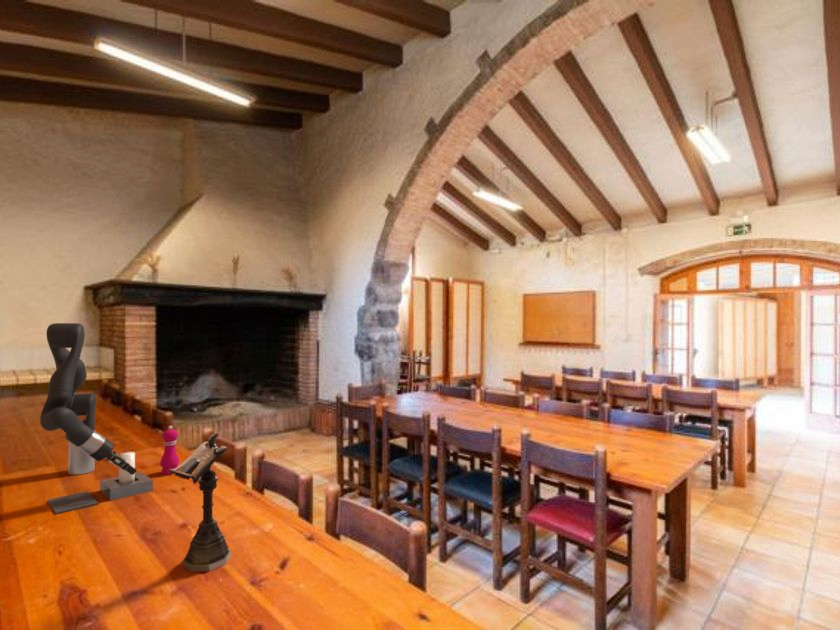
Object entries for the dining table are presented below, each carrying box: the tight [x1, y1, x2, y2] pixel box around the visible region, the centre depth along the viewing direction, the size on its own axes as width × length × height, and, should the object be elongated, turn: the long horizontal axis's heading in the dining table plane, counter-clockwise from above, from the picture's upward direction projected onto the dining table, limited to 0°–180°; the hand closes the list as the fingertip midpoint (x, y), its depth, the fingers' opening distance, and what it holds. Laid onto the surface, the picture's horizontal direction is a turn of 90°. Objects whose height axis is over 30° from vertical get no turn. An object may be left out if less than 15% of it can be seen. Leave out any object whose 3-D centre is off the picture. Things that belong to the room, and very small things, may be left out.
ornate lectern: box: [168, 432, 232, 573], centre depth 128 cm, size 17×13×35 cm
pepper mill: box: [160, 425, 180, 476], centre depth 204 cm, size 7×7×20 cm
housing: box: [100, 471, 154, 501], centre depth 182 cm, size 14×14×4 cm
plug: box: [118, 451, 136, 485], centre depth 183 cm, size 5×5×14 cm
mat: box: [47, 490, 99, 515], centre depth 170 cm, size 16×12×1 cm
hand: (132, 470), depth 184 cm, fingers closed on plug, 5 cm apart
